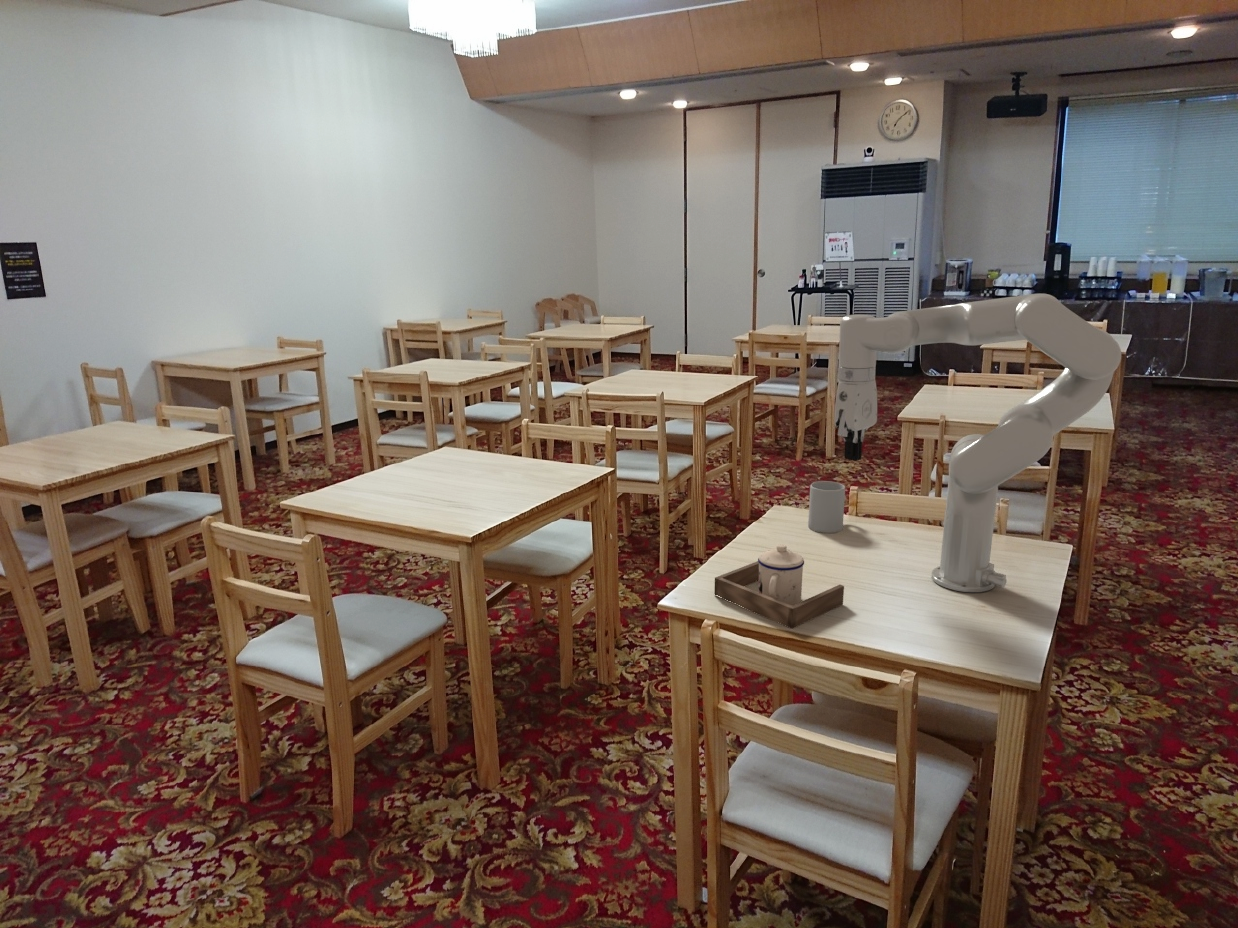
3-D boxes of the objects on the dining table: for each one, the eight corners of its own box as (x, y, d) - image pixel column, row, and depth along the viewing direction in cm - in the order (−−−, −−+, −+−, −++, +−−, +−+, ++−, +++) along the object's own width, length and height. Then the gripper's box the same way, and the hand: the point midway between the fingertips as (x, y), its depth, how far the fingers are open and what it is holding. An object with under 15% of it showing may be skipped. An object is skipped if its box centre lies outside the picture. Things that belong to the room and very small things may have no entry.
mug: (831, 535, 208) (833, 493, 205) (801, 527, 213) (803, 486, 210) (856, 523, 216) (859, 482, 213) (826, 516, 222) (829, 476, 219)
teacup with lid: (762, 587, 178) (764, 535, 175) (806, 594, 175) (808, 541, 172) (748, 610, 167) (749, 555, 164) (794, 618, 164) (796, 562, 161)
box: (842, 604, 170) (844, 585, 169) (792, 628, 160) (793, 609, 159) (765, 575, 184) (765, 557, 183) (714, 595, 174) (714, 577, 173)
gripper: (853, 381, 170) (849, 469, 175) (891, 371, 180) (886, 455, 185) (821, 377, 176) (818, 463, 180) (859, 368, 186) (856, 450, 190)
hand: (852, 459), depth 183 cm, fingers closed
